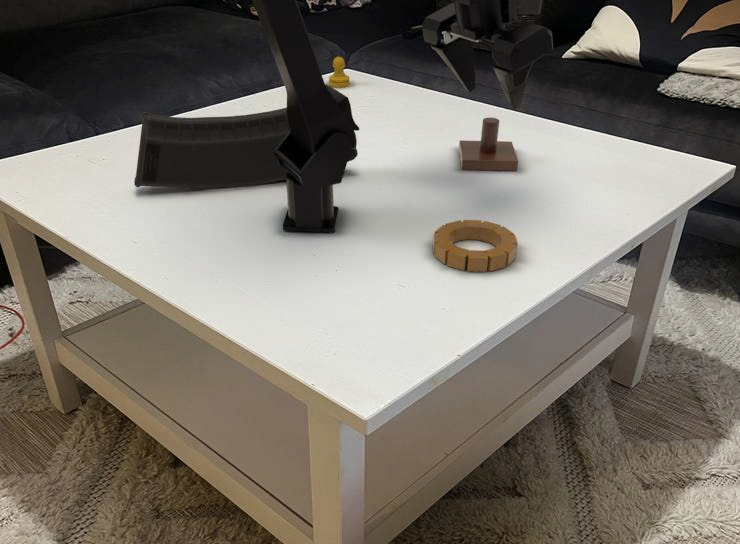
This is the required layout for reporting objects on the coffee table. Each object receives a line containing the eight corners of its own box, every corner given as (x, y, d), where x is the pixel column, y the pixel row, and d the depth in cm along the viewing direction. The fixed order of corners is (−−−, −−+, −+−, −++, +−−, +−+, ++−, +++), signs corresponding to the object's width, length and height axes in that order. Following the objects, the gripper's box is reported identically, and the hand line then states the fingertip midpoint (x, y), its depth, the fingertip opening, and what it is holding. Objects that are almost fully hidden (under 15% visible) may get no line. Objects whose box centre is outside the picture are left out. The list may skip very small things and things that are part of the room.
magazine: (104, 131, 92) (324, 45, 93) (104, 123, 95) (319, 39, 96) (165, 243, 103) (362, 166, 104) (164, 233, 106) (357, 157, 106)
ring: (519, 273, 82) (521, 259, 81) (434, 270, 83) (435, 256, 82) (510, 234, 90) (511, 220, 89) (432, 232, 90) (432, 218, 89)
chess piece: (328, 87, 139) (327, 59, 136) (329, 81, 142) (329, 54, 139) (348, 87, 138) (348, 59, 136) (350, 81, 142) (349, 54, 139)
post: (516, 171, 106) (522, 130, 103) (461, 169, 107) (465, 128, 103) (510, 150, 113) (515, 111, 109) (458, 149, 113) (461, 110, 109)
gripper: (584, -46, 80) (591, 88, 91) (478, -62, 93) (495, 57, 104) (505, -3, 78) (522, 129, 88) (408, -26, 91) (433, 92, 101)
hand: (493, 99), depth 95 cm, fingers open, 9 cm apart
